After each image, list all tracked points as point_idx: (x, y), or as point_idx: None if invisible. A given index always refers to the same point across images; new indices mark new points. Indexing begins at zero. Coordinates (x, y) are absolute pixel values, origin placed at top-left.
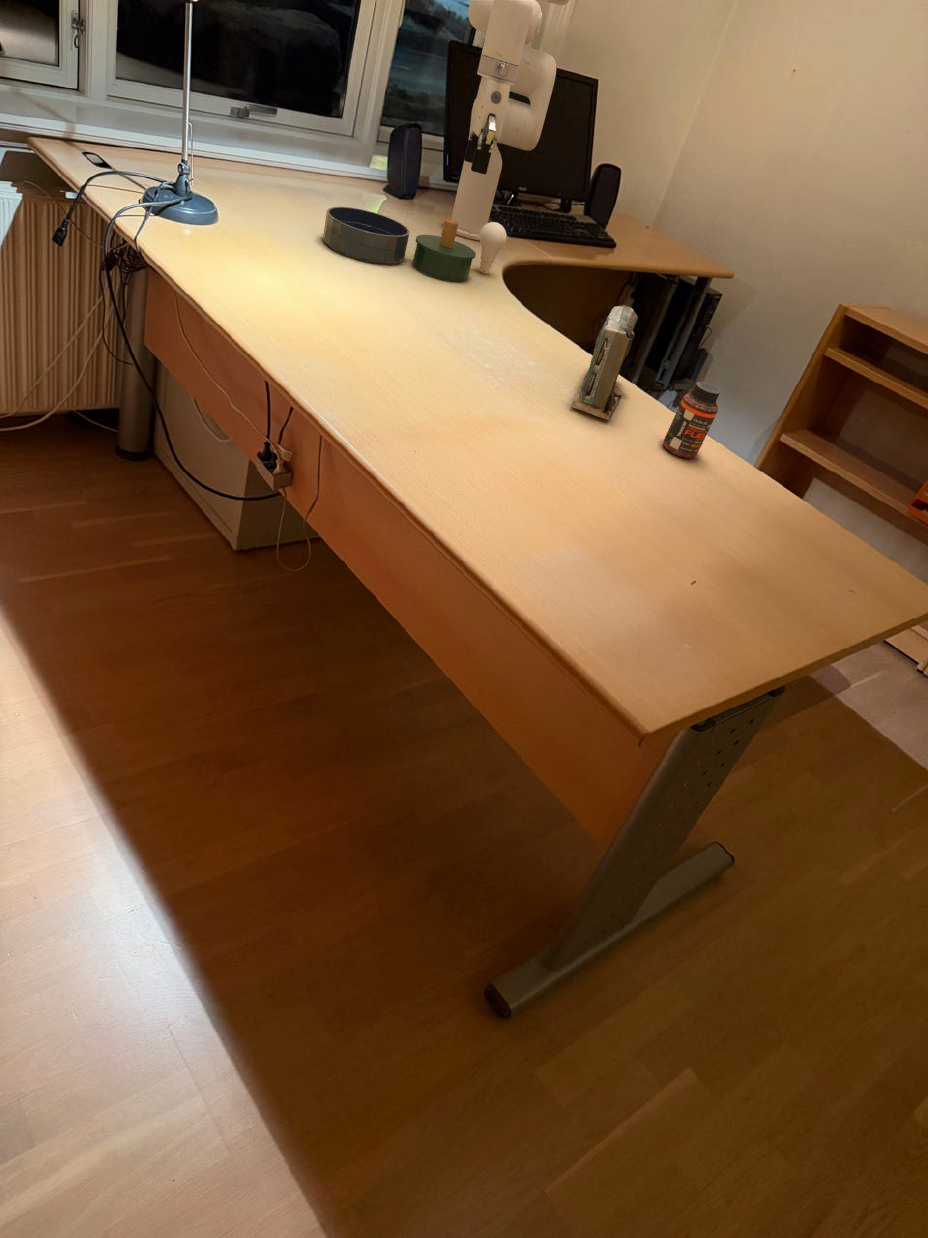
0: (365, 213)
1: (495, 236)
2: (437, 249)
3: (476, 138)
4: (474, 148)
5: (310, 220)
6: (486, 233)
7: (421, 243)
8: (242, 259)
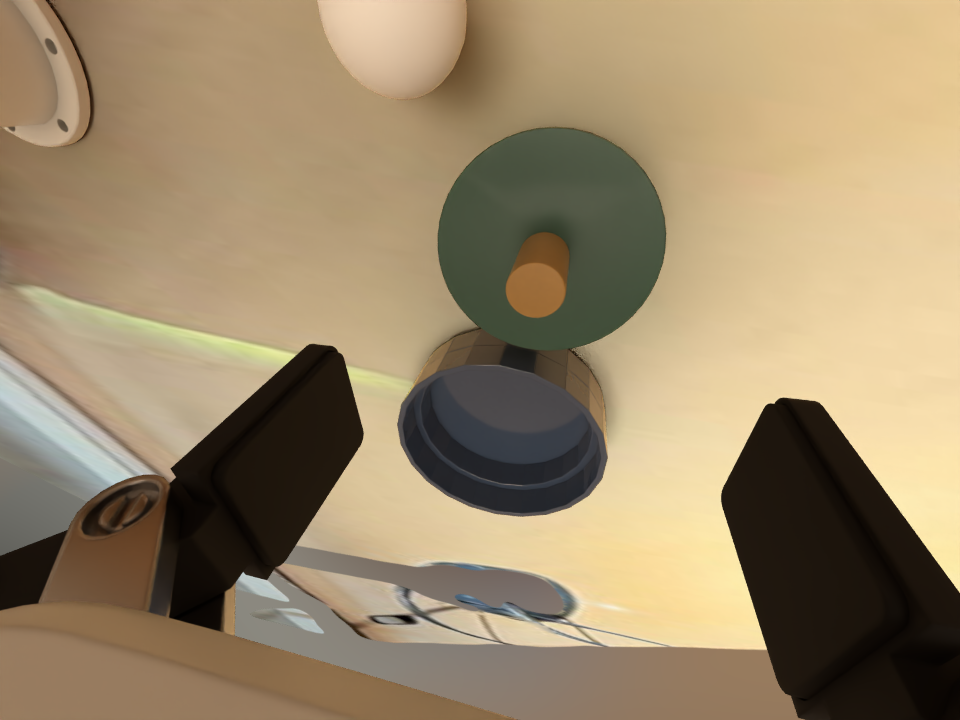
0: (407, 434)
1: (456, 9)
2: (619, 300)
3: (218, 569)
4: (295, 482)
5: (393, 463)
6: (439, 71)
7: (583, 343)
8: (708, 582)
